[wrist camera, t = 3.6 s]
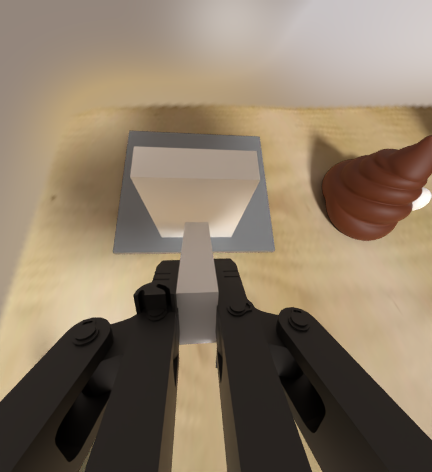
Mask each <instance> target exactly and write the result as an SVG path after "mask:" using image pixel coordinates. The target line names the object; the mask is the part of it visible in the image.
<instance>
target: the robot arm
mask: <svg viewBox="0 0 432 472" xmlns="http://www.w3.org/2000/svg"><path fill="white" fill-rule="evenodd" d="M133 296H134V302H135V307H136V312H137V314H136V315H135V316H133V317H131V318H129V319H126V320H124V321H120V322H117V323H114V324H110V323H109V322H108V321H107V320H106V319H104V318H101V317H100V318H90V319H86V320H83V321H81V322H79V323H78V324H76V325H74V326H73V327H72V328H71V329H69V330H68V331H67V332H66V333H65V334H64V335H63V336H62V337H61V338H60V339H59V340H58V342H57V343H56V344H55V345H54V346H53V347H52V348H51V349H50V350H49V351H48V352H47V353H46V354H45V355H44V356H43V357H42V358H41V359H40V361H39V362H38V363H37V364H36V365H35V366H34V367H33V368H32V369H31V370H30V371H29V372H28V373H27V374H26V375H25V376H24V377H23V378H22V380H21V381H20V382H19V383H18V384H17V385H16V386H15V387H14V388H13V389H12V390H11V391H10V392H9V393H8V394H7V395H6V396H5V397H4V399H3V400H2V401H1V402H0V472H78V471H79V469H80V468H81V466H82V464H83V462H84V460H85V458H86V456H87V454H88V452H89V450H90V448H91V446H92V444H93V442H94V440H95V442H94V445H93V448H92V451H91V454H90V457H89V460H88V463H87V466H86V469H85V472H171V468H172V454H173V440H174V426H175V412H176V397H177V383H178V369H179V344H180V345H182V344H198V343H214V342H217V356H216V368H218V377H219V388H220V399H221V409H222V420H223V431H224V441H225V452H226V463H227V472H312V470H311V467H310V464H309V461H308V459H307V456H306V453H305V450H304V447H303V444H302V441H301V438H300V436H299V433H298V430H297V427H296V424H297V426H298V427H299V429H300V431H301V433H302V435H303V437H304V438H305V440H306V442H307V444H308V446H309V448H310V449H311V451H312V453H313V455H314V457H315V459H316V460H317V462H318V464H319V466H320V468H321V470H322V472H432V440H431V439H430V438H429V437H428V436H427V435H426V434H425V433H424V432H423V431H422V430H421V429H420V427H419V426H418V425H417V424H416V423H415V422H414V421H413V420H412V419H411V418H410V417H409V416H408V415H407V414H406V413H405V412H404V411H403V410H402V409H401V408H400V407H399V406H398V405H397V404H396V402H395V401H394V400H393V399H392V398H391V397H390V396H389V395H388V394H387V393H386V392H385V391H384V390H383V389H382V388H381V387H380V386H379V385H378V384H377V383H376V382H375V381H374V380H373V378H372V377H371V376H370V375H369V374H368V373H367V372H366V371H365V370H364V369H363V368H362V367H361V366H360V365H359V364H358V363H357V362H356V361H355V360H354V359H353V358H352V357H351V356H350V355H349V353H348V352H347V351H346V350H345V349H344V348H343V347H342V346H341V345H340V344H339V343H338V342H337V341H336V340H335V339H334V338H333V337H332V336H331V335H330V334H329V333H328V332H327V331H326V329H325V328H324V327H323V326H322V325H321V324H320V323H319V322H318V321H317V320H316V319H315V318H314V317H313V316H312V315H310V314H309V313H308V312H306V311H304V310H302V309H299V308H294V307H291V308H285V309H283V310H281V312H280V314H279V315H275V314H271V313H266V312H263V311H260V310H258V309H256V308H255V307H254V305H253V304H252V303H251V302H250V301H249V300H248V299H247V297H246V294H245V291H244V288H243V285H242V282H241V278H240V275H239V272H238V269H237V266H236V264H235V263H234V262H233V261H232V260H231V259H214V258H213V252H212V245H211V238H210V232H209V225H208V222H185V226H184V234H183V242H182V250H181V258H180V260H166V261H162V262H161V263H160V264H159V265H158V266H157V268H156V271H155V275H154V278H153V281H152V283H148V284H146V285H143V286H142V287H140V288H139V289H138V290H137V291H136V292H135V294H134V295H133ZM294 420H295V421H294ZM295 422H296V424H295ZM95 438H96V439H95Z"/></svg>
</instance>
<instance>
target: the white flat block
mask: <svg viewBox="0 0 432 472" xmlns="http://www.w3.org/2000/svg"><path fill="white" fill-rule="evenodd" d="M130 178H131V180H132V181H133V183H134V185H135V187H136V189H137V191H138V193H139V195H140V197H141V199H142V201H143V202H144V204H145V206H146V208H147V210H148V212H149V214H150V216H151V218H152V220H153V221H154V223H155V225H156V227H157V229H158V231H159V233H160V235H161V237H183V234H184V226H185V222H208V225H209V232H210V237H231V236H232V234H233V232H234V230H235V228H236V226H237V225H238V223H239V221H240V219H241V217H242V215H243V213H244V211H245V209H246V207H247V205H248V203H249V201H250V199H251V197H252V195H253V193H254V191H255V189H256V187H257V185H258V184H259V182H260V174H259V166H258V158H257V151H242V150H216V149H190V148H164V147H138V146H134V149H133V157H132V166H131V174H130Z"/></svg>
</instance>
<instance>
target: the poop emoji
mask: <svg viewBox="0 0 432 472" xmlns="http://www.w3.org/2000/svg"><path fill="white" fill-rule="evenodd" d="M431 174H432V135H429V136H427V137H425V138H424V139H422V140H421V141H420V142H418V143H417V144H414V145H411V146H407V147H404V148H402V149H400V150H396V149H383V150H380V151H378V152H376V153H373V154H370V155H365V156H361V157H358V158H356V159H350V160H345V161H342V162H340V163H338V164H336V165H334V166H333V167H332V168H331V169H330V170H329V171H328V172H327V173H326V175H325V177H324V179H323V183H322V191H323V195H324V197H325V199H326V209H327V213H328V216H329V218H330V220H331V221H332V223H333V224H334V226H335V227H336V228H337V229H338V230H339V231H341V232H342V233H343V234H345V235H347V236H349V237H351V238H354V239H357V240H364V241H369V240H376V239H379V238H382V237H384V236H386V235H387V234H388V233H390V232H391V231H392V230H393V229H394V227H395V226H396V225H397V223H398V221H400V220H402V219H404V218H405V217H407V216H408V215H409V214H410V212H411V211H413V210H417V209H420V208H422V207H424V206H425V205H426V204H427V203H428V202H429V201H430V199H431V192H430V191H429V190H428V189H426V188H424V187H423V186H424V185H425V184H426V183H427V178H428V177H429V176H430V175H431Z"/></svg>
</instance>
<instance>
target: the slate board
mask: <svg viewBox="0 0 432 472" xmlns="http://www.w3.org/2000/svg"><path fill="white" fill-rule="evenodd" d="M134 146H138V147H164V148H190V149H216V150H242V151H257V158H258V166H259V174H260V182H259V184H258V185H257V187H256V189H255V191H254V193H253V195H252V197H251V199H250V201H249V203H248V205H247V207H246V209H245V211H244V213H243V215H242V217H241V219H240V221H239V223H238V225H237V226H236V228H235V230H234V232H233V234H232V236H231V237H210V238H211V245H212V252H213V253H241V252H274V251H275V247H274V239H273V232H272V225H271V217H270V210H269V203H268V195H267V188H266V181H265V173H264V166H263V159H262V151H261V144H260V137H257V136H235V135H213V134H191V133H170V132H148V131H129V137H128V144H127V152H126V159H125V166H124V174H123V181H122V189H121V196H120V203H119V211H118V218H117V225H116V233H115V240H114V248H113V253H114V254H164V253H181V250H182V242H183V237H161V235H160V233H159V231H158V229H157V227H156V225H155V223H154V221H153V220H152V218H151V216H150V214H149V212H148V210H147V208H146V206H145V204H144V202H143V201H142V199H141V197H140V195H139V193H138V191H137V189H136V187H135V185H134V183H133V181H132V180H131V178H130V174H131V166H132V157H133V149H134Z"/></svg>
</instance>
